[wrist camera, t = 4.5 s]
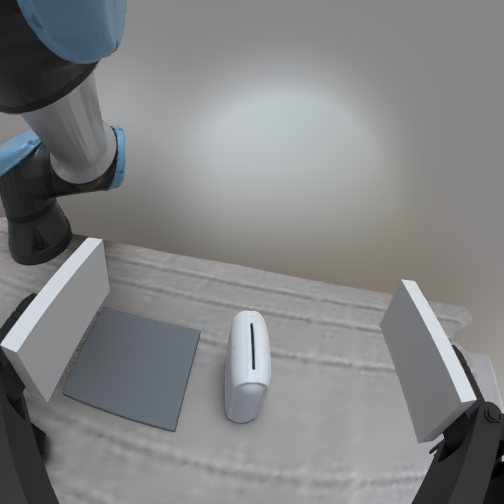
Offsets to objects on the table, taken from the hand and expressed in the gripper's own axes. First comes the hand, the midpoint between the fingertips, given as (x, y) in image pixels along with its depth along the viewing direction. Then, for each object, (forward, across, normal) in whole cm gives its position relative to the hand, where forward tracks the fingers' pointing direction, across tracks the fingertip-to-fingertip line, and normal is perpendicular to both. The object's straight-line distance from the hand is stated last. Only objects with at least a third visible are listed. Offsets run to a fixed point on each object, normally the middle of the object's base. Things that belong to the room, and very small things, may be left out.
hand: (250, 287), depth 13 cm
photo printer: (+13, +2, -28) cm, 31 cm away
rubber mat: (+14, -13, -27) cm, 33 cm away
